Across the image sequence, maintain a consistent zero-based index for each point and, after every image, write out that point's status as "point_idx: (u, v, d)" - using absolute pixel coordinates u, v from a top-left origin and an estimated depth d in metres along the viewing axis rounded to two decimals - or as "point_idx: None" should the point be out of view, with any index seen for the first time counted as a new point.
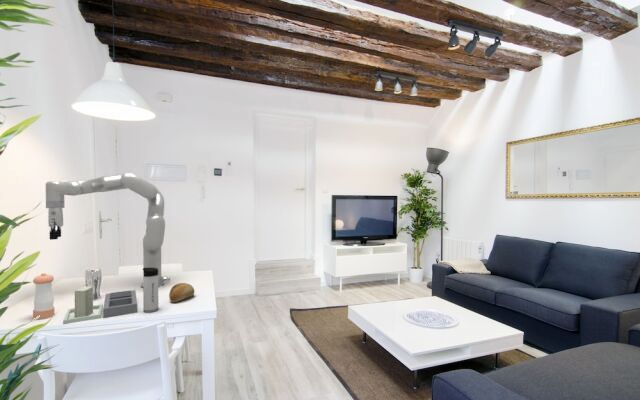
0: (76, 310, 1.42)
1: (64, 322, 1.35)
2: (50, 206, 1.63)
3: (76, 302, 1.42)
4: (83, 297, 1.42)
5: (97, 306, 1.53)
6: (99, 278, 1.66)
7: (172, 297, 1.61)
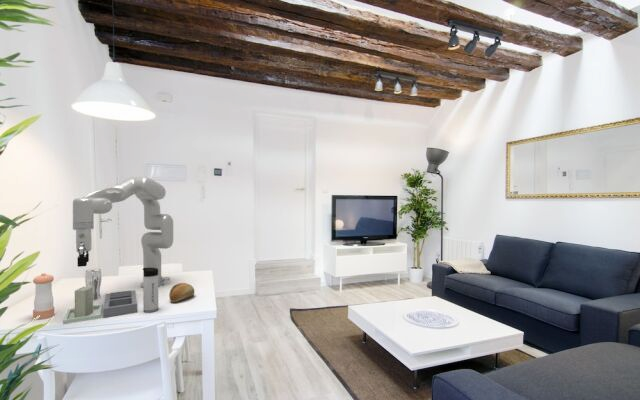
0: (76, 310, 1.42)
1: (64, 322, 1.35)
2: (78, 227, 1.40)
3: (76, 302, 1.42)
4: (83, 297, 1.42)
5: (97, 306, 1.53)
6: (99, 278, 1.66)
7: (172, 297, 1.61)
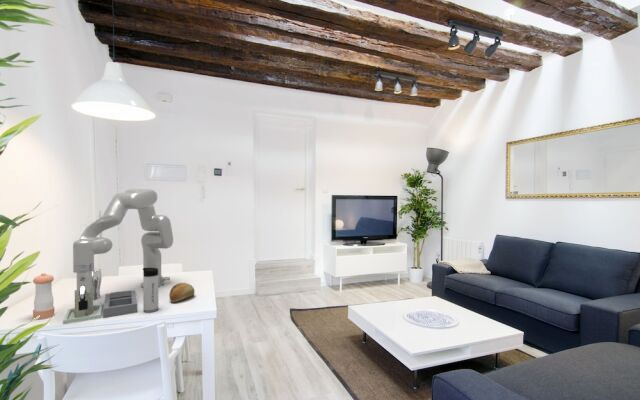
0: (76, 310, 1.42)
1: (64, 322, 1.35)
2: (79, 270, 1.41)
3: (76, 302, 1.42)
4: None
5: (97, 306, 1.53)
6: (99, 278, 1.66)
7: (172, 297, 1.61)
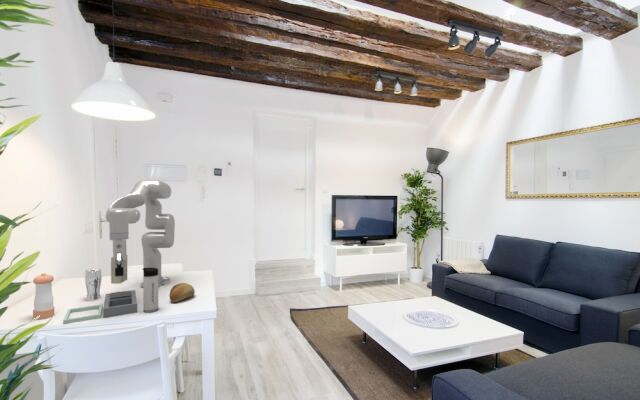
0: (112, 276, 1.47)
1: (64, 322, 1.35)
2: (115, 238, 1.46)
3: (112, 268, 1.47)
4: None
5: (97, 306, 1.53)
6: (99, 278, 1.66)
7: (172, 297, 1.61)
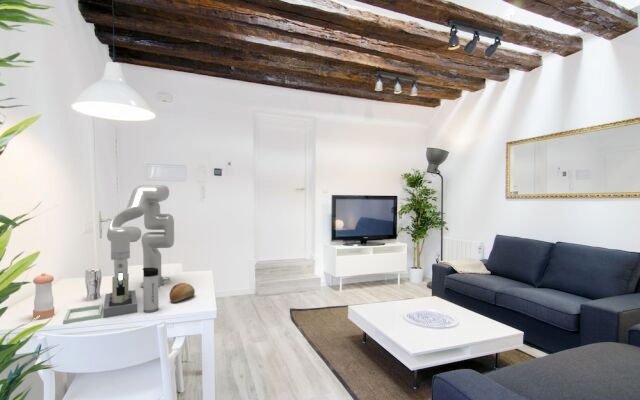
0: (114, 296, 1.47)
1: (64, 322, 1.35)
2: (116, 258, 1.46)
3: (114, 288, 1.47)
4: None
5: (97, 306, 1.53)
6: (99, 278, 1.66)
7: (172, 297, 1.61)
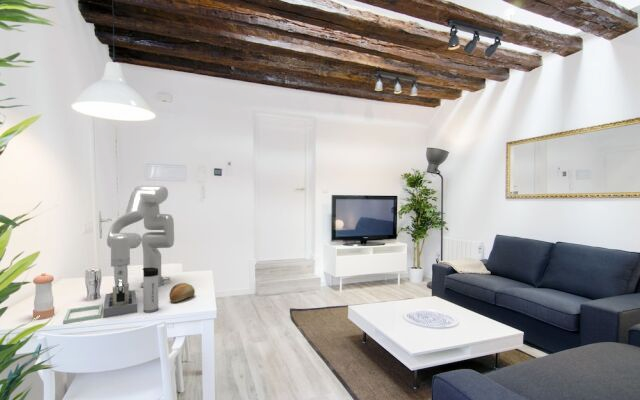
0: None
1: (64, 322, 1.35)
2: (116, 264, 1.46)
3: (114, 298, 1.47)
4: None
5: (97, 306, 1.53)
6: (99, 278, 1.66)
7: (172, 297, 1.61)
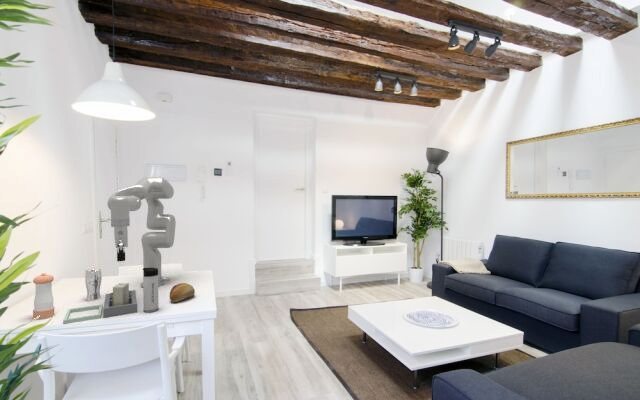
0: None
1: (64, 322, 1.35)
2: (117, 225, 1.49)
3: (114, 298, 1.47)
4: (121, 294, 1.47)
5: (97, 306, 1.53)
6: (99, 278, 1.66)
7: (172, 297, 1.61)
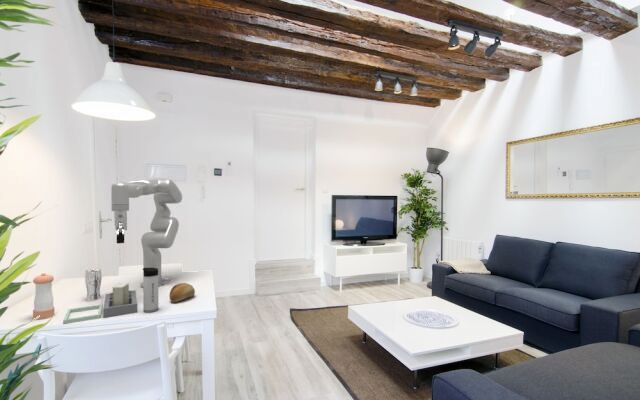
0: None
1: (64, 322, 1.35)
2: (117, 209, 1.58)
3: (114, 298, 1.47)
4: (121, 294, 1.47)
5: (97, 306, 1.53)
6: (99, 278, 1.66)
7: (172, 297, 1.61)
